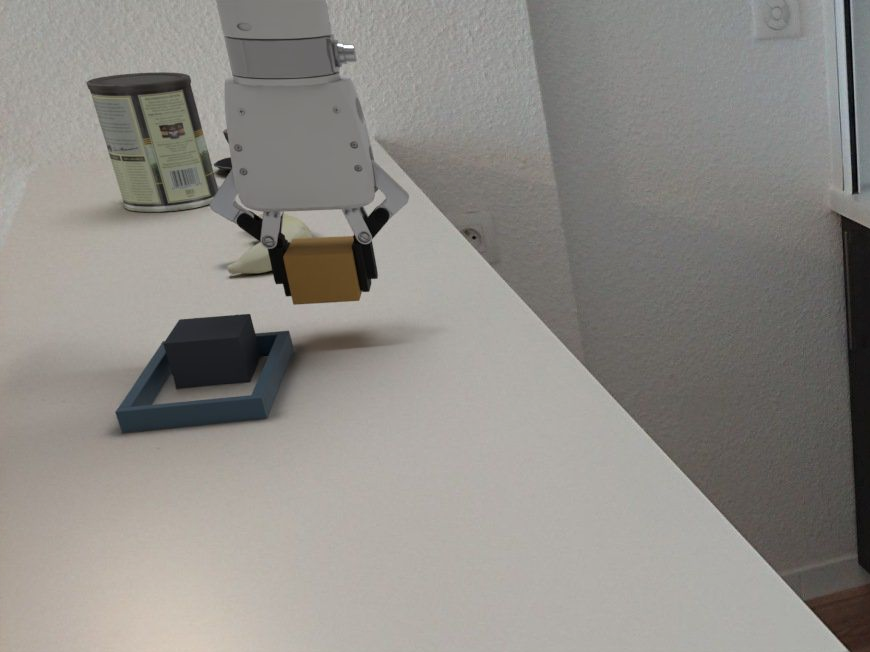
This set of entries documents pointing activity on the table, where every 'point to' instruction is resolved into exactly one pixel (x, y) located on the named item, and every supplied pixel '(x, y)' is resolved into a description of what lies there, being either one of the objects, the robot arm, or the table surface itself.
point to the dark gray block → (212, 351)
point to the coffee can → (154, 140)
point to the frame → (145, 416)
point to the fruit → (258, 254)
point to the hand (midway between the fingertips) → (329, 287)
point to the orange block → (322, 270)
